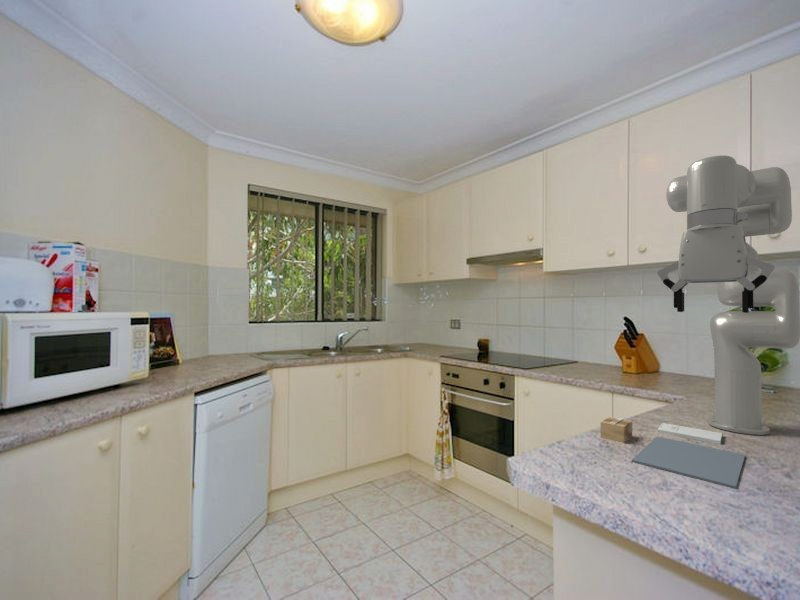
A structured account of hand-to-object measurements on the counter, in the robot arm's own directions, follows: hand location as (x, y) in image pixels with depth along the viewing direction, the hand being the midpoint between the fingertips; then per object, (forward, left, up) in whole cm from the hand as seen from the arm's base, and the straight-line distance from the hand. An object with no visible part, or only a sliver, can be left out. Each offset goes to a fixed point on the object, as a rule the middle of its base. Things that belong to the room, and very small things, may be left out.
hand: (711, 312), depth 73 cm
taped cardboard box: (-11, -19, -31) cm, 38 cm away
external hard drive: (-28, -7, -32) cm, 43 cm away
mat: (-7, -4, -31) cm, 32 cm away
